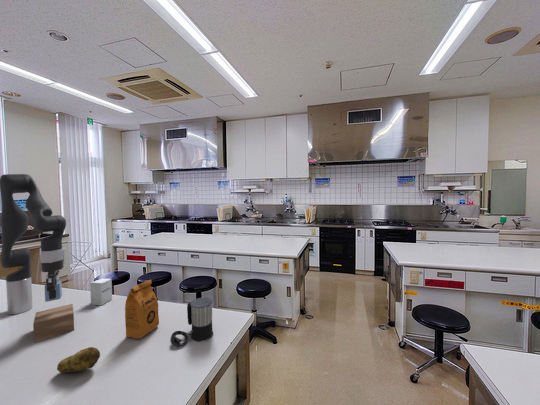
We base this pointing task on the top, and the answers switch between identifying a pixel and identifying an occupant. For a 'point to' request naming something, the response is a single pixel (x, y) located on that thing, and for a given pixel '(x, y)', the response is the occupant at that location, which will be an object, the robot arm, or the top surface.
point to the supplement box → (101, 291)
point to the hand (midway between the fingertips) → (53, 296)
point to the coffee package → (141, 310)
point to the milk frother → (197, 322)
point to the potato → (79, 360)
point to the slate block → (58, 292)
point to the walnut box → (53, 322)
